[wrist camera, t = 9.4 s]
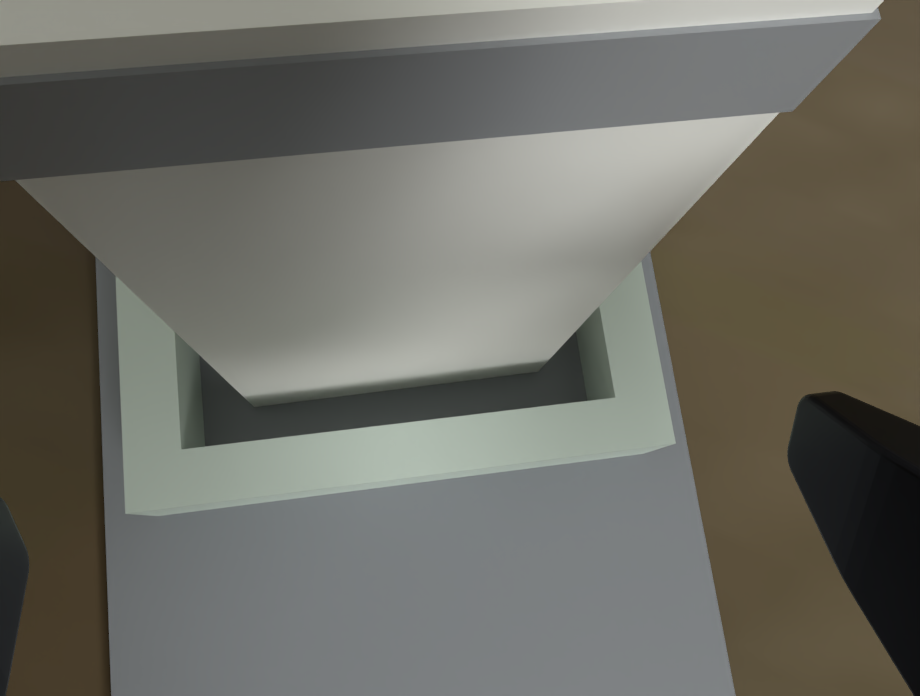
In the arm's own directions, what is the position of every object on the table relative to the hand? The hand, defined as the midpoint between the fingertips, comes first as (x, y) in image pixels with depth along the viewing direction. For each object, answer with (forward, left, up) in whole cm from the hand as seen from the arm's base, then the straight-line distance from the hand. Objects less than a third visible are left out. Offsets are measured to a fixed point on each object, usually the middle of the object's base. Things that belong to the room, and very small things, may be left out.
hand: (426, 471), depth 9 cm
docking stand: (+1, +1, -8) cm, 9 cm away
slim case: (+2, +4, -7) cm, 9 cm away
